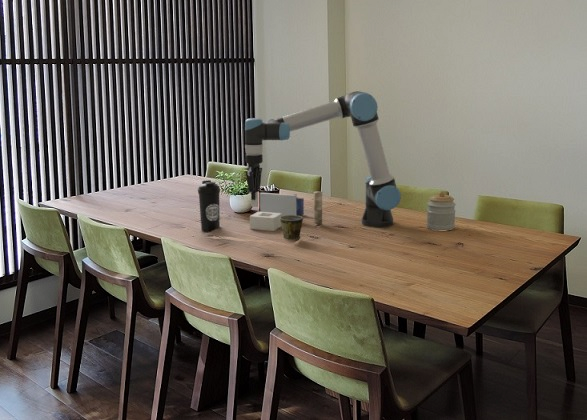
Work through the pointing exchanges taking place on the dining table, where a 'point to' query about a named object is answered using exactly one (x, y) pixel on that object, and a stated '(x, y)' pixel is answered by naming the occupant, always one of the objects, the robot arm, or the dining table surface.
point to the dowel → (318, 208)
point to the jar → (441, 212)
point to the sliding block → (265, 221)
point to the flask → (299, 206)
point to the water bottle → (209, 205)
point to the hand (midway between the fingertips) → (254, 206)
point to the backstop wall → (278, 203)
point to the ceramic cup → (291, 226)
